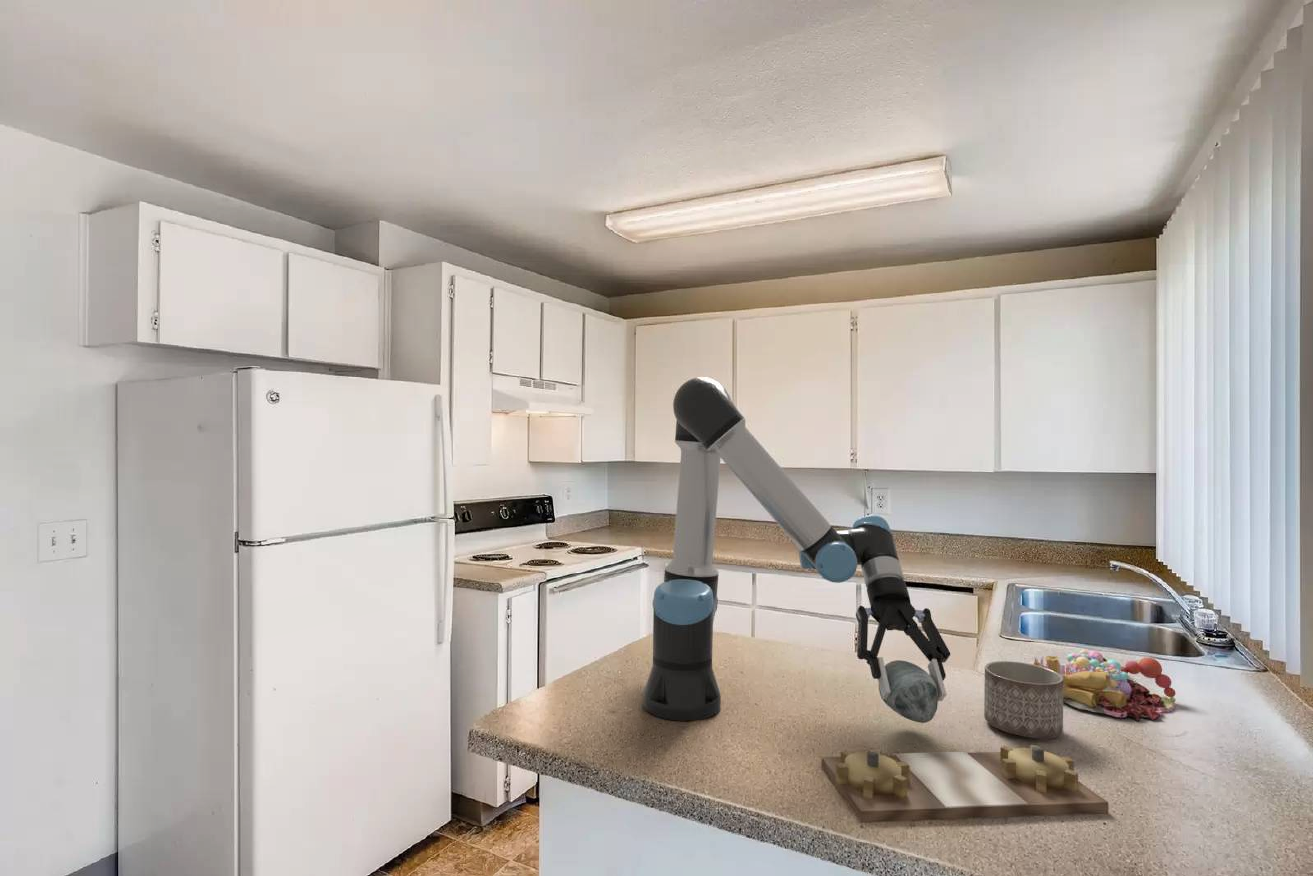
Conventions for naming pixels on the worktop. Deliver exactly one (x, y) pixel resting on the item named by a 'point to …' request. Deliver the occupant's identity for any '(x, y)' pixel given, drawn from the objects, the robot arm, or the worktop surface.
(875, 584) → the robot arm
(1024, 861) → the worktop surface
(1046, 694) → the planter
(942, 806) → the gear board
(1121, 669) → the candy landscape model
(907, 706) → the grey streaked egg
